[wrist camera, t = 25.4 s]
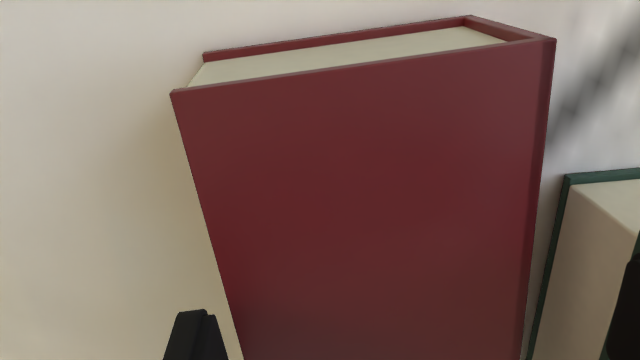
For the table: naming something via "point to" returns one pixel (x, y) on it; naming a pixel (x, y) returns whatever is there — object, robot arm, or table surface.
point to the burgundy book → (374, 188)
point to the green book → (586, 264)
